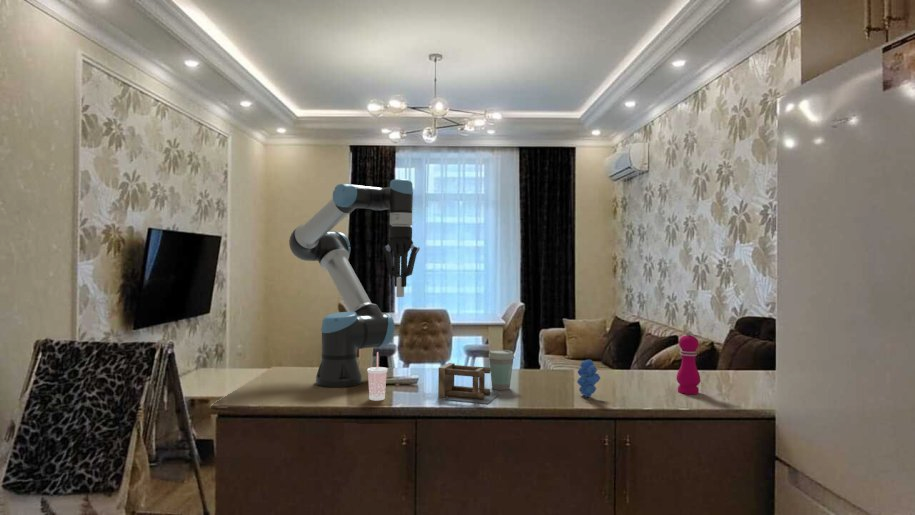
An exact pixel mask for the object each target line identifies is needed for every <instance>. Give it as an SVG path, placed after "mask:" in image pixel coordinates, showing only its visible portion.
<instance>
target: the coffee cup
mask: <svg viewBox="0 0 915 515" xmlns="http://www.w3.org/2000/svg"><path fill="white" fill-rule="evenodd" d="M487 358H488V360H489V361H488V362H489V368H490V379H491V388H492V389H493V390H497V391H506V390H509V389H510V388H511V382H512V381H511V380H512V375H513V374H512V372H513V365H514V359H515V355H514V351H512V350H508V349H493V350H490V351H489V354H488V357H487Z"/></svg>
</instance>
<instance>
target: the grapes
mask: <svg viewBox="0 0 915 515" xmlns="http://www.w3.org/2000/svg"><path fill="white" fill-rule="evenodd" d="M579 366H580V368H579V369H578V370H577V374H578V375H579V376H580V377H578V379H577V381H576V382H577V384H578V385H579V389H578V391H579V392H580V394H581V395H583V396H584V397H585V398H587V397H588V398H590V397H591V396H592V395H593V394H594V393H595V392H596V390H597V387H596V386H595V385H596V384H597V383H598V382H600V380H601V376H600V374H598V373H597V372H598V369H597V367H596V366H595V363H594V362H593V360H592V359H585V360H583V361H581V363H580V364H579Z"/></svg>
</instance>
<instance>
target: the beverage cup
mask: <svg viewBox="0 0 915 515" xmlns="http://www.w3.org/2000/svg"><path fill="white" fill-rule="evenodd" d="M388 369H389V368H388V367H383V366H379V351H377V352H376V366H372V367H368V368H367V369H366V370H367V371H366V372H367V377H368V379H367V380H368V400H371V401H383V400H385V399H386V388H387V387H386V384H387V373H388V371H389V370H388Z"/></svg>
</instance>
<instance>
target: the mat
mask: <svg viewBox="0 0 915 515" xmlns="http://www.w3.org/2000/svg"><path fill="white" fill-rule="evenodd" d="M500 395H501V392H495V391H490V395H486V394H484V399H483V400H482V399H472V398H461V397H451V396H446V397H445V398H442V400H443V401H452V402H462V403H471V404H482V405H489V404H490V403H492V402H493V401H494V400H495V399H496V398H497V397H498V396H500Z"/></svg>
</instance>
